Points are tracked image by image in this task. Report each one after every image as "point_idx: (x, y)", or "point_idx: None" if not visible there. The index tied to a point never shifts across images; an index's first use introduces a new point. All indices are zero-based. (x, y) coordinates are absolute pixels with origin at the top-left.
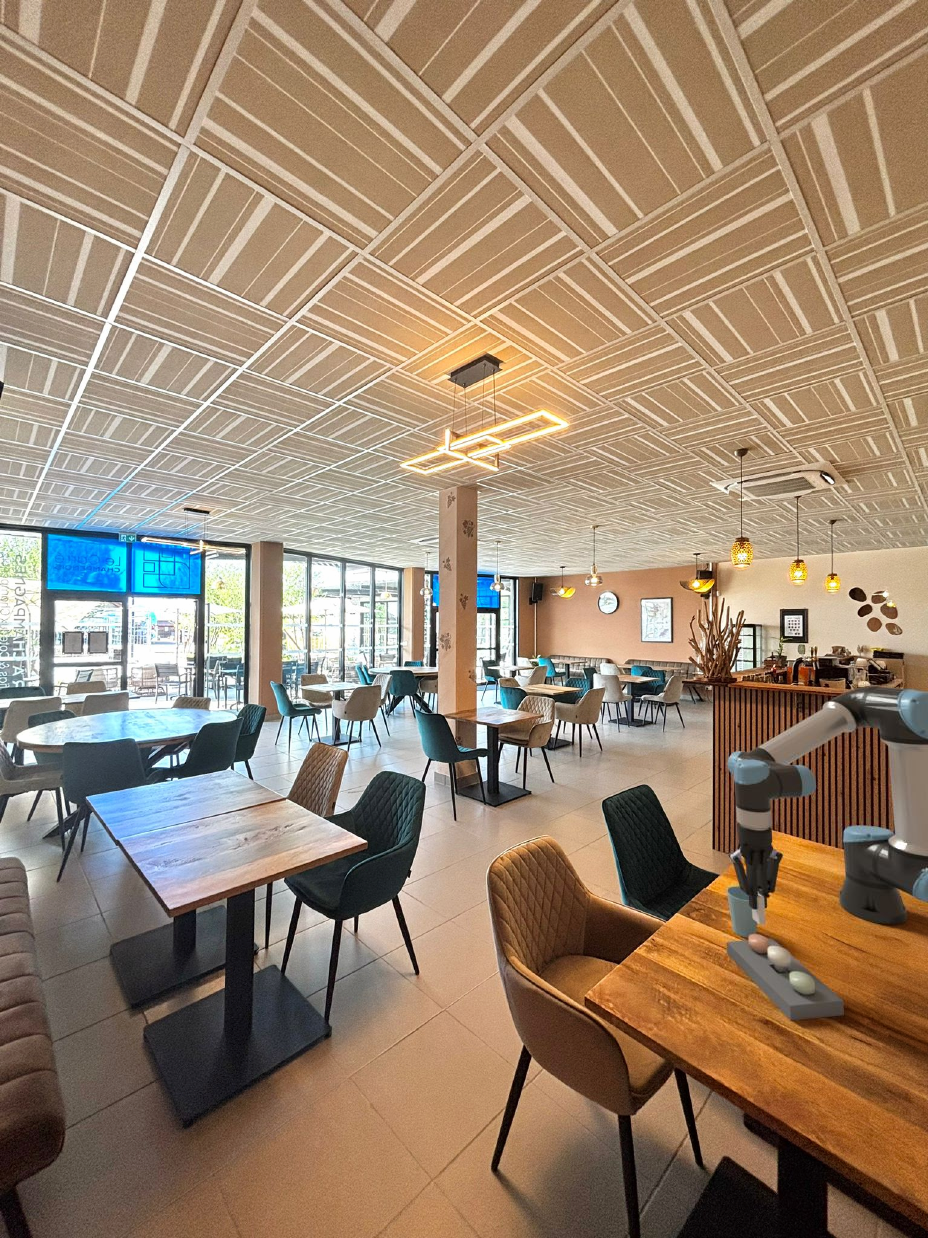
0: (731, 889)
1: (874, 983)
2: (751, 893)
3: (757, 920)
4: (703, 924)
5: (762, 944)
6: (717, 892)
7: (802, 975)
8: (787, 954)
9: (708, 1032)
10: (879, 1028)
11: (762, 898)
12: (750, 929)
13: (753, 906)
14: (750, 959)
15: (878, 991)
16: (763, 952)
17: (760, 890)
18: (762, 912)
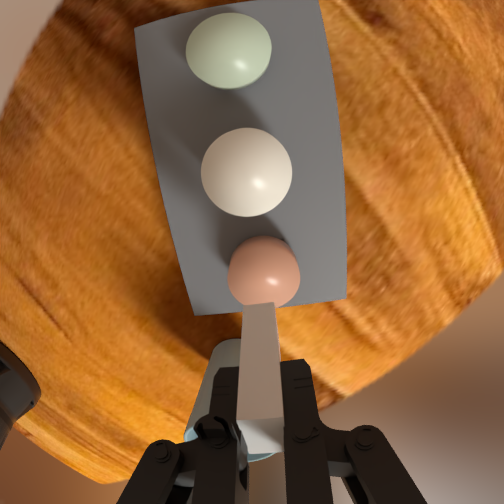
0: (251, 455)
1: (29, 176)
2: (328, 441)
3: (276, 323)
4: (323, 378)
5: (267, 253)
6: None
7: (215, 63)
8: (218, 155)
9: (490, 35)
10: (99, 16)
11: (249, 414)
12: (233, 353)
13: (305, 373)
14: (324, 213)
15: (32, 148)
16: (268, 236)
17: (240, 462)
18: (256, 345)
